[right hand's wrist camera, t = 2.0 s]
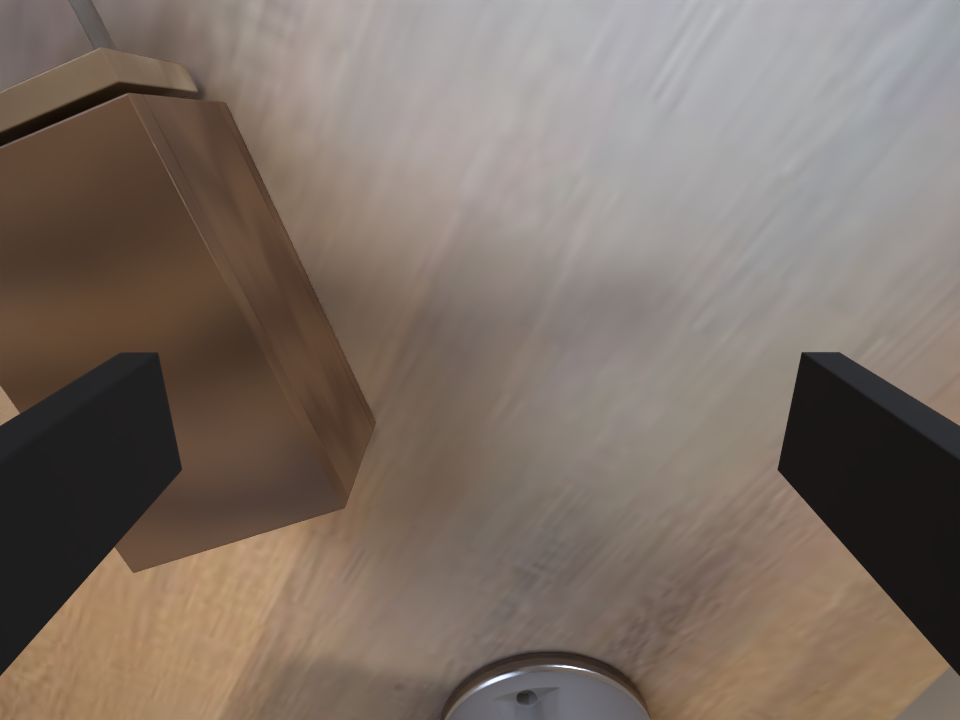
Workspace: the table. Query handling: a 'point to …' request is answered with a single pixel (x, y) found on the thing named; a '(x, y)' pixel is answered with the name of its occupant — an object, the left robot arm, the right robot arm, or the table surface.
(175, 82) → the drawer
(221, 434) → the cabinet
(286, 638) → the table surface
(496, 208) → the table surface
